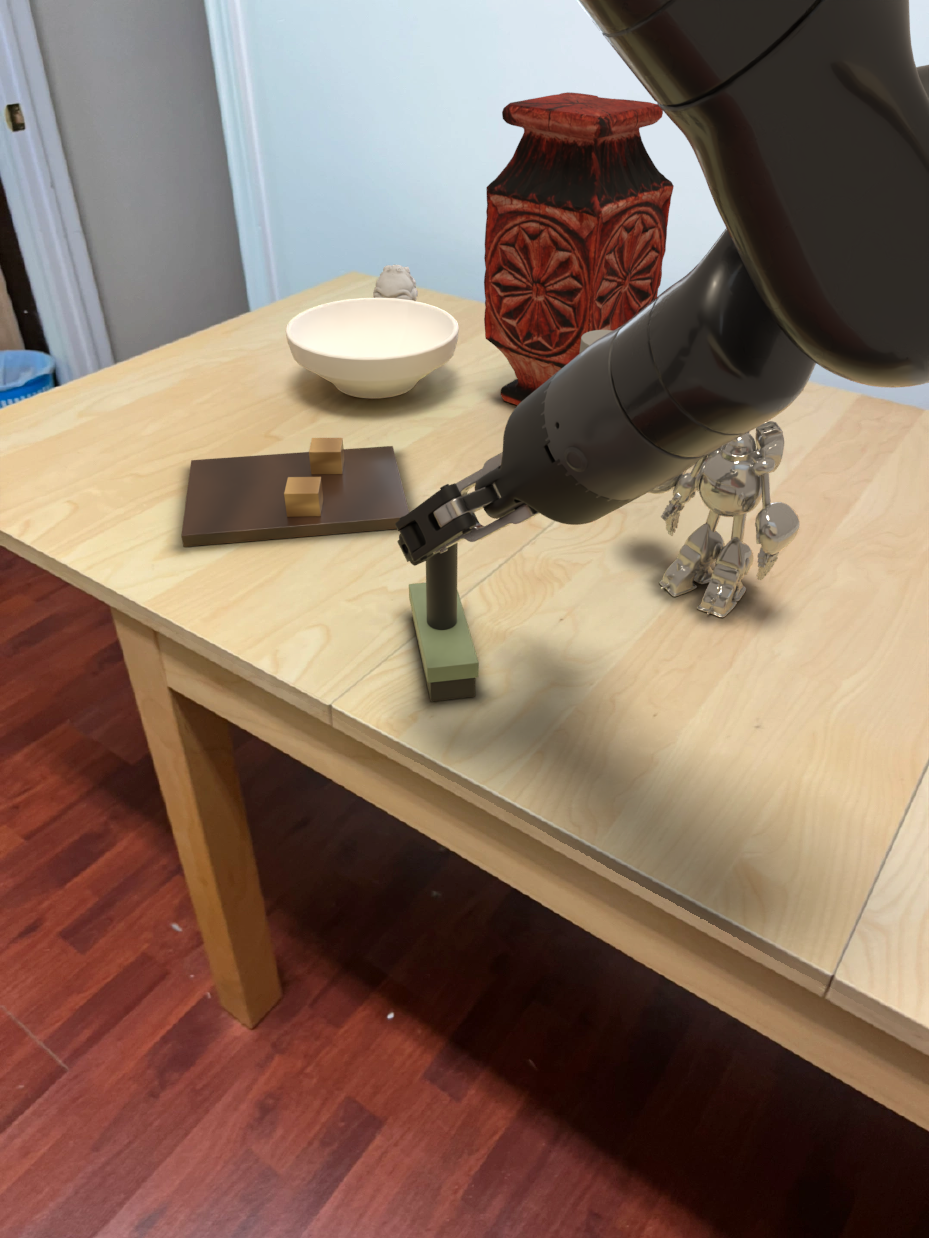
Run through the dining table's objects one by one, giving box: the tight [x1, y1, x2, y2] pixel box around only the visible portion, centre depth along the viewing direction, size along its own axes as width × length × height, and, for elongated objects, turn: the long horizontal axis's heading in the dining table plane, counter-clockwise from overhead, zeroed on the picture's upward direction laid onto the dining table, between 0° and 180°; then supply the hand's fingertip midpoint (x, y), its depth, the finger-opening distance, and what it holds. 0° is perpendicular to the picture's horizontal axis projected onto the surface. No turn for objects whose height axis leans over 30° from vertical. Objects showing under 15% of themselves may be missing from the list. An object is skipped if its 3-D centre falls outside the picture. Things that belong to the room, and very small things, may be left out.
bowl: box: [285, 297, 460, 399], centre depth 104 cm, size 20×20×7 cm
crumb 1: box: [284, 477, 323, 517], centre depth 80 cm, size 3×3×2 cm
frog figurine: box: [372, 264, 419, 301], centre depth 121 cm, size 6×7×7 cm
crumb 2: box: [308, 437, 345, 474], centre depth 87 cm, size 3×3×2 cm
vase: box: [483, 91, 675, 406], centre depth 94 cm, size 14×14×30 cm
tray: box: [180, 445, 410, 548], centre depth 85 cm, size 20×14×1 cm
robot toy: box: [647, 420, 800, 618], centre depth 70 cm, size 15×6×15 cm, turn 43°
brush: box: [408, 542, 480, 702], centre depth 63 cm, size 4×10×13 cm, turn 10°
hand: (461, 527), depth 58 cm, fingers open, 8 cm apart
